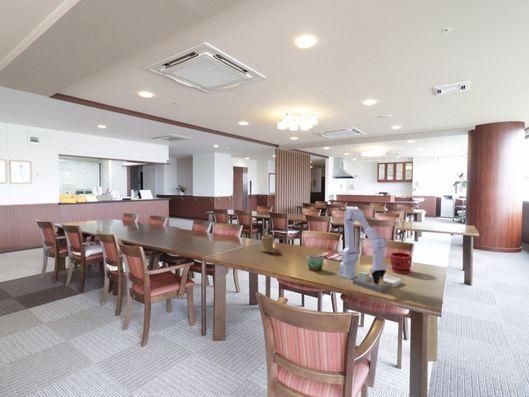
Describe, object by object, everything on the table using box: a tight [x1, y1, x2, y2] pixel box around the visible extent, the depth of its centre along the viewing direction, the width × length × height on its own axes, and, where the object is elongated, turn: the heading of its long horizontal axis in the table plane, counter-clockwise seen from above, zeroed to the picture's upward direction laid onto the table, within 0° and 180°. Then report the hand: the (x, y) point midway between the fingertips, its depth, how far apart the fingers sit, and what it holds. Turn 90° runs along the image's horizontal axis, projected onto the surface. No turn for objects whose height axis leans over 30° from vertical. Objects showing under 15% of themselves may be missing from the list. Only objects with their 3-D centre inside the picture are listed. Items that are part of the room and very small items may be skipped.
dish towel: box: [317, 251, 342, 263], centre depth 228 cm, size 17×23×3 cm
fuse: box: [358, 270, 370, 282], centre depth 168 cm, size 5×3×7 cm, turn 38°
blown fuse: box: [372, 276, 384, 286], centre depth 161 cm, size 5×3×7 cm, turn 38°
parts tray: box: [369, 273, 403, 288], centre depth 172 cm, size 16×12×2 cm
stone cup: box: [261, 234, 281, 254], centre depth 245 cm, size 15×12×15 cm
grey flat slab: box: [352, 277, 390, 294], centre depth 165 cm, size 18×9×2 cm, turn 38°
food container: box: [306, 254, 325, 272], centre depth 194 cm, size 12×6×10 cm, turn 82°
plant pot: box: [389, 251, 412, 275], centre depth 192 cm, size 13×13×12 cm
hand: (377, 282), depth 161 cm, fingers closed on blown fuse, 3 cm apart
